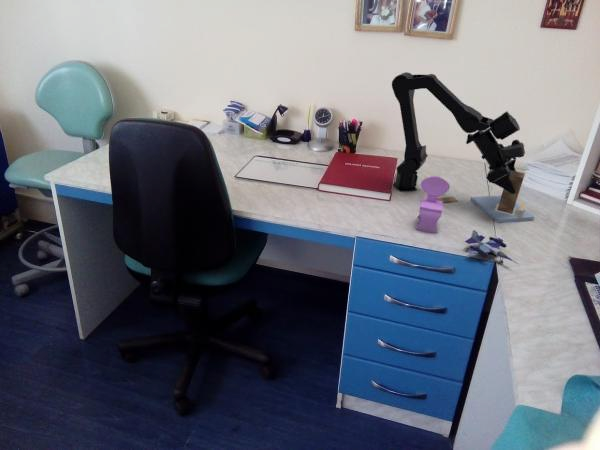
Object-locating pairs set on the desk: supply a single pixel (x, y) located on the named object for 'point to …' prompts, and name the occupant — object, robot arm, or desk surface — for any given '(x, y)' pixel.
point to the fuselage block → (508, 198)
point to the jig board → (491, 205)
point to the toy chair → (431, 203)
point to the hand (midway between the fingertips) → (516, 188)
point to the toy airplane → (487, 246)
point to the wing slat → (447, 199)
